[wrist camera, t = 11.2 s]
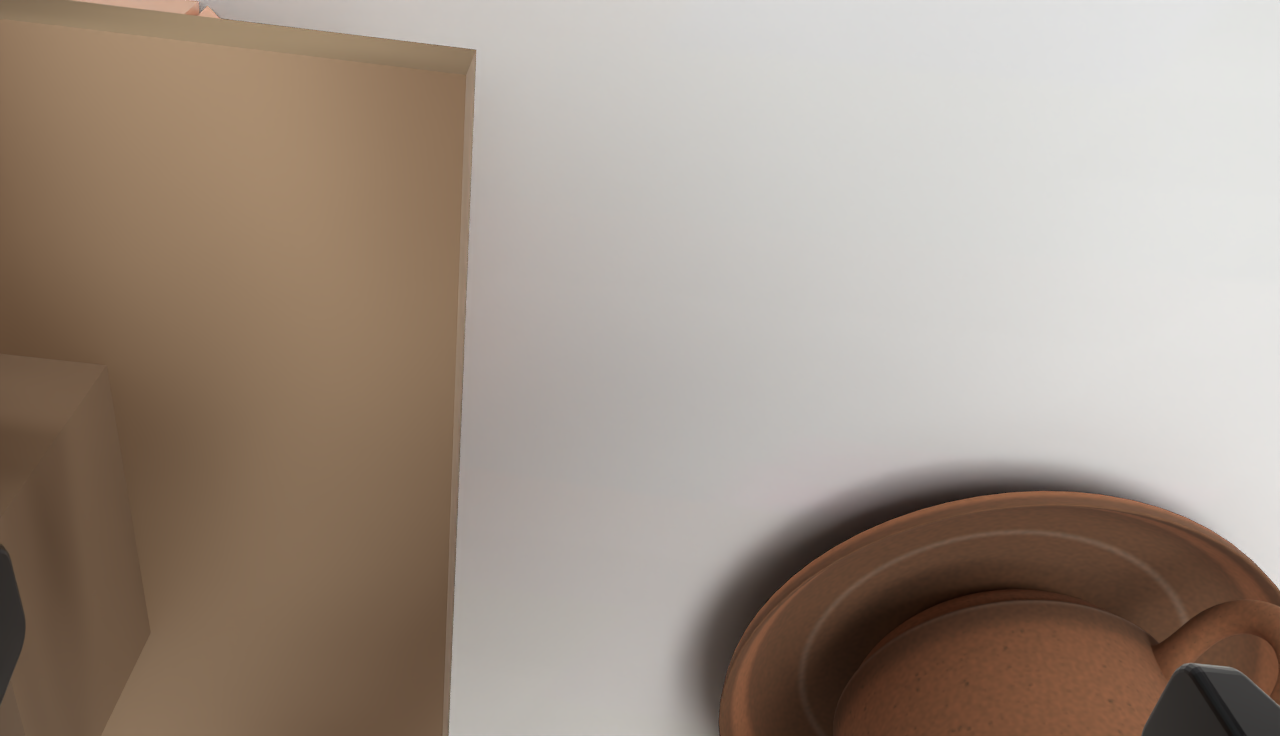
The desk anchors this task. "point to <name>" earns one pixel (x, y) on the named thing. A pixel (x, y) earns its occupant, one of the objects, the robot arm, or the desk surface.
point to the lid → (230, 372)
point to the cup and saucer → (1002, 623)
